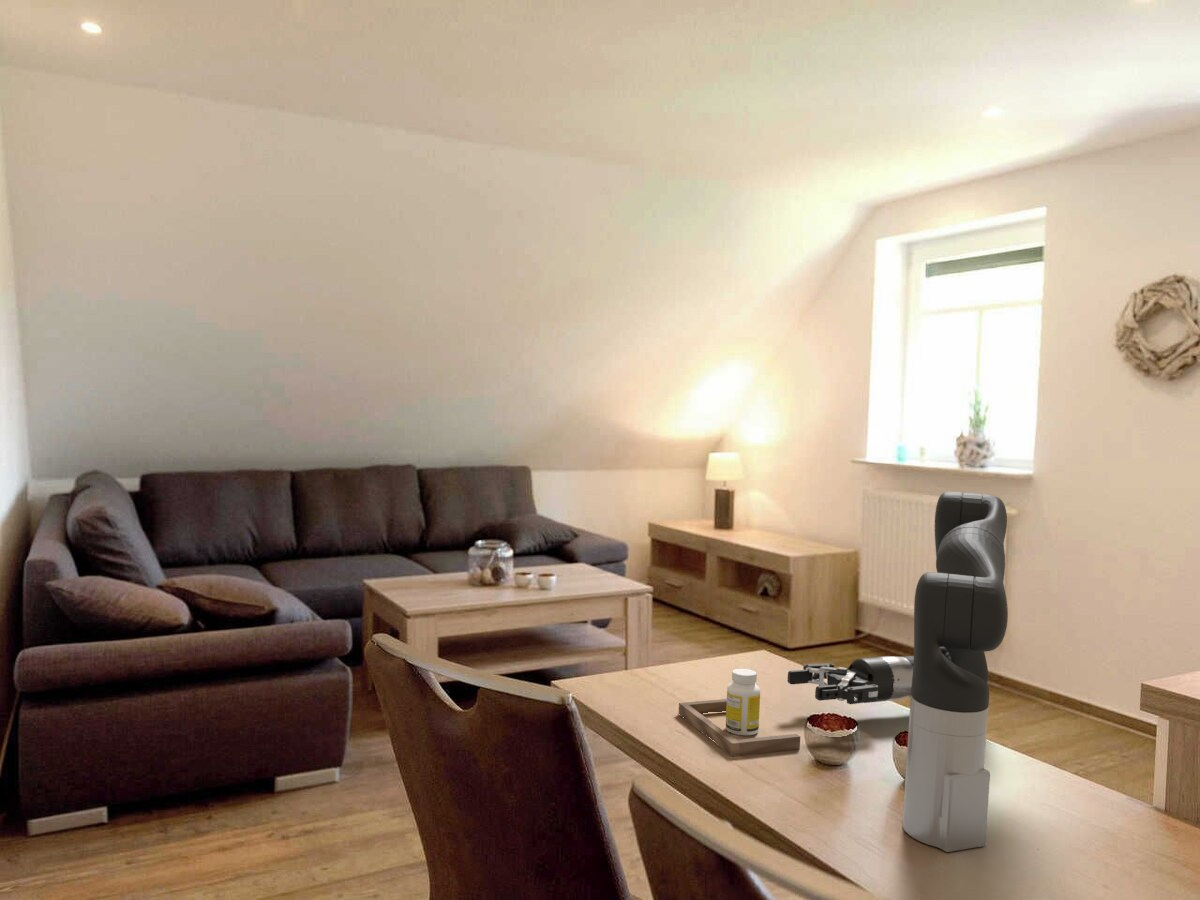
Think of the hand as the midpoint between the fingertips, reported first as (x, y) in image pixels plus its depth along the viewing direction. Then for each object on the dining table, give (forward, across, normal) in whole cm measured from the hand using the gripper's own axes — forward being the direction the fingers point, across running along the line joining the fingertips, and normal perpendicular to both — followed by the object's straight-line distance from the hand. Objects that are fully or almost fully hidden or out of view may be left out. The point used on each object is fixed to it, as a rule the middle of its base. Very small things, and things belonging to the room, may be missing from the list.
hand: (802, 685), depth 155 cm
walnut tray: (+12, 0, +7) cm, 14 cm away
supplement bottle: (+11, 0, +7) cm, 13 cm away
